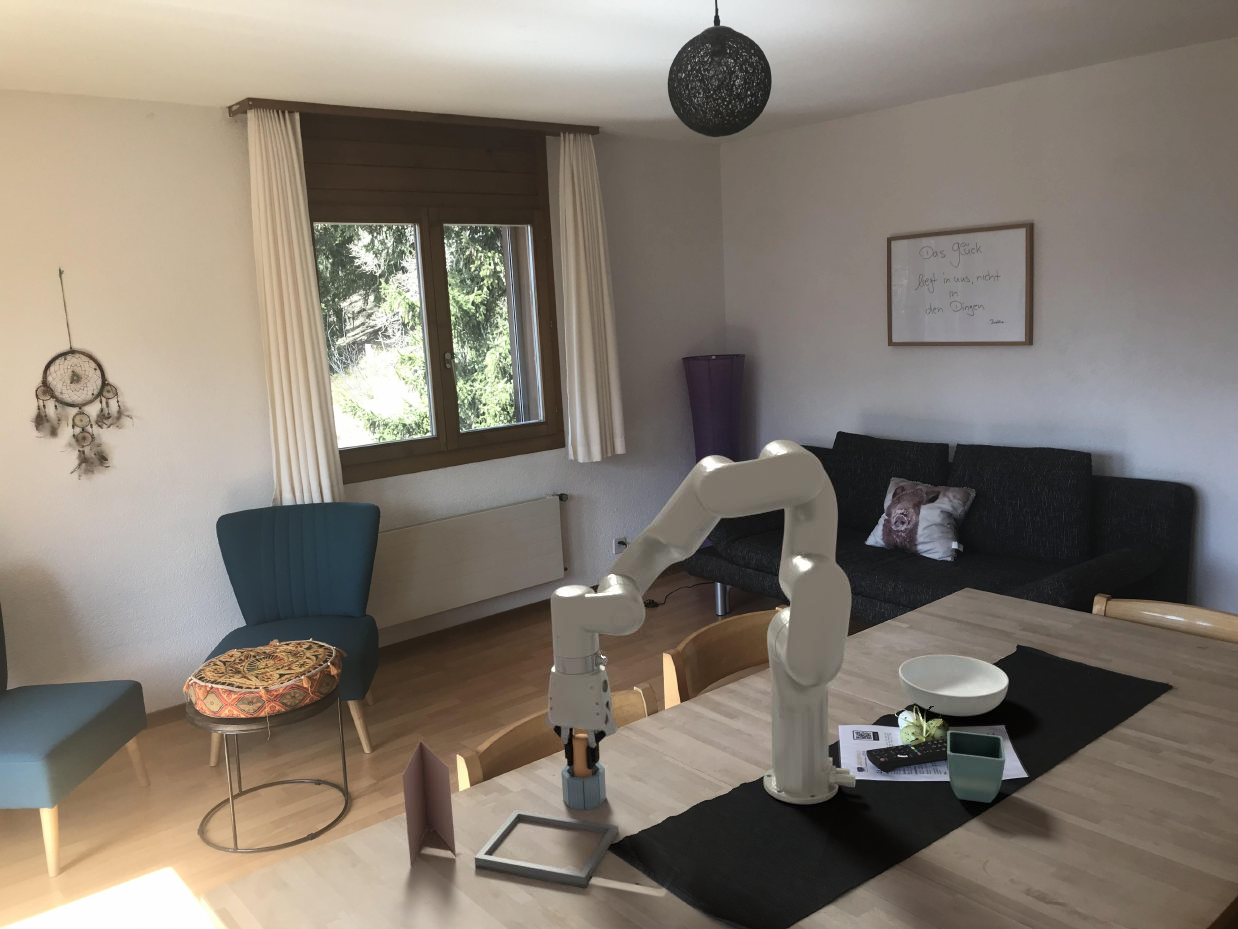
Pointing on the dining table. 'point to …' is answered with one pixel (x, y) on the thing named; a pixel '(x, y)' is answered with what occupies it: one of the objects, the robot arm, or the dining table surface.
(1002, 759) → the flower pot
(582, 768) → the dowel
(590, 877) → the grey rectangular frame
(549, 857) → the dining table surface
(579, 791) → the cup
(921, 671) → the serving bowl
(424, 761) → the greeting card
